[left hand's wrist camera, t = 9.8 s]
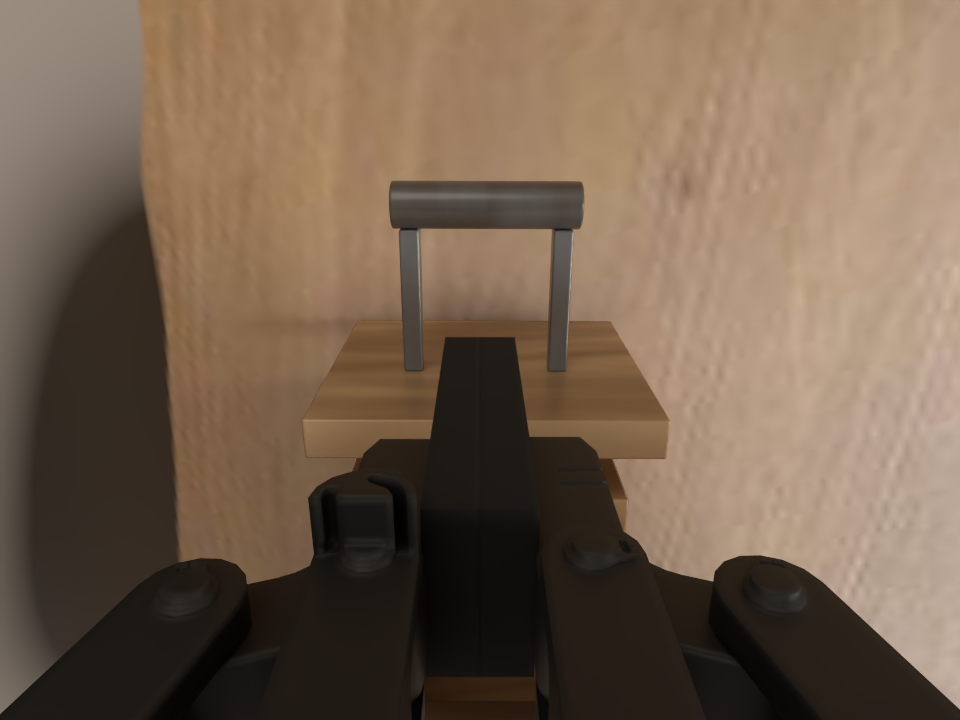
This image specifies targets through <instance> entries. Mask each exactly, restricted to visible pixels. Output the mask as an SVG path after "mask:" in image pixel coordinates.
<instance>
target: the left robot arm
mask: <svg viewBox="0 0 960 720" xmlns="http://www.w3.org/2000/svg"><path fill="white" fill-rule="evenodd" d="M308 501H309V510H310V520H311V529H312V538H313V548H314V556H313V559H312V562H311V564H310V566H309V567H307V568H304V569H302V570H300V571H298V572H296V573H293V574H289V575H286V576H283V577H279V578H275V579H270V580H266V581H261V582H257V583H252V584H247V581H246V575H245V573H244V572H243V571H242V570H241V569H240V568H239V567H238V566H237V565H236V564H234V563H231V562H228V561H225V560H222V559H204V558H200V559H195V560H190V561H185V562H180V563H177V564H174V565H172V566H170V567H167V568H165V569H163V570H160V571H158V572H156V573H155V574H153V575H152V576H150V577H149V578H148V579H146V580H145V581H143V582H142V583H141V584H139V585H138V586H137V587H136V588H135V589H134V590H133V591H131V592H130V593H129V594H128V595H127V596H126V597H125V598H124V599H123V600H122V601H121V602H120V603H119V604H118V605H117V606H115V607H114V608H113V609H112V610H111V611H110V612H109V613H108V614H107V615H106V616H105V617H104V618H103V619H102V620H100V621H99V622H98V623H97V624H96V625H95V626H94V627H93V628H92V629H91V630H90V631H89V632H88V633H87V634H86V635H84V636H83V637H82V638H81V639H80V640H79V641H78V642H77V643H76V644H75V645H74V646H73V647H72V648H71V649H70V650H69V651H67V652H66V653H65V654H64V655H63V656H62V657H61V658H60V659H59V660H58V661H57V662H56V663H55V664H53V665H52V666H51V667H50V668H49V669H48V670H47V671H46V672H45V673H44V674H43V675H42V676H41V677H40V678H39V679H37V680H36V681H35V682H34V683H33V684H32V685H31V686H30V687H29V688H28V689H27V690H26V691H25V692H24V693H22V694H21V695H20V696H19V697H18V698H17V699H16V700H15V701H14V702H13V703H12V704H11V705H10V706H9V707H8V708H6V709H5V710H4V711H3V712H2V713H1V714H0V720H424V718H425V694H424V677H425V666H426V677H534V663H535V673H536V694H535V719H534V720H960V709H959V708H957V707H956V706H955V705H954V704H953V703H952V702H951V701H950V700H949V699H948V698H947V697H946V696H945V695H943V694H942V693H941V692H940V691H939V690H938V689H937V688H936V687H935V686H934V685H933V684H932V683H931V682H929V681H928V680H927V679H926V678H925V677H924V676H923V675H922V674H921V673H920V672H919V671H918V670H917V669H915V668H914V667H913V666H912V665H911V664H910V663H909V662H908V661H907V660H906V659H905V658H904V657H903V656H901V655H900V654H899V653H898V652H897V651H896V650H895V649H894V648H893V647H892V646H891V645H890V644H889V643H887V642H886V641H885V640H884V639H883V638H882V637H881V636H880V635H879V634H878V633H877V632H876V631H875V630H873V629H872V628H871V627H870V626H869V625H868V624H867V623H866V622H865V621H864V620H863V619H862V618H861V617H859V616H858V615H857V614H856V613H855V612H854V611H853V610H852V609H851V608H850V607H849V606H848V605H847V604H845V603H844V602H843V601H842V600H841V599H840V598H839V597H838V596H837V595H836V594H835V593H834V592H833V591H831V590H830V589H829V588H828V587H827V586H826V585H825V584H824V583H823V582H822V581H820V580H819V579H817V578H816V577H815V576H813V575H812V574H810V573H809V572H807V571H806V570H805V569H803V568H800V567H798V566H796V565H793V564H791V563H788V562H786V561H784V560H780V559H775V558H770V557H765V556H739V557H736V558H733V559H730V560H727V561H724V562H723V563H722V564H721V566H720V567H719V568H718V569H717V570H716V571H715V575H714V581H713V582H712V581H707V580H703V579H698V578H693V577H689V576H684V575H680V574H677V573H673V572H670V571H667V570H664V569H662V568H660V567H657V566H655V565H653V564H651V563H649V561H648V558H647V555H646V553H645V551H644V550H643V548H642V547H641V546H640V544H639V543H638V541H637V540H635V539H634V538H632V537H631V536H629V535H628V534H626V533H625V532H624V531H623V529H622V526H621V523H620V520H619V517H618V514H617V511H616V508H615V505H614V502H613V499H612V496H611V493H610V490H609V487H608V485H607V481H606V478H605V475H604V472H603V471H602V466H601V463H600V460H599V457H598V454H597V451H596V450H595V449H593V448H592V447H591V446H590V445H589V444H588V443H586V442H585V441H584V440H583V439H582V438H581V437H529V430H528V423H527V417H526V410H525V403H524V396H523V390H522V383H521V376H520V369H519V363H518V356H517V349H516V342H515V337H445V342H444V349H443V356H442V363H441V369H440V376H439V383H438V390H437V396H436V403H435V410H434V417H433V423H432V430H431V437H430V439H380V440H378V441H377V442H376V443H375V444H374V445H373V446H371V447H370V448H369V449H368V450H367V451H366V452H365V453H364V454H363V457H362V460H361V463H360V466H359V469H358V471H355V472H349V473H346V474H342V475H339V476H336V477H333V478H331V479H329V480H327V481H326V482H324V483H322V484H321V485H319V486H317V487H316V489H315V490H314V491H313V492H312V494H311V495H310V496H309V497H308Z"/></svg>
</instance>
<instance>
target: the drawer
mask: <svg viewBox="0 0 960 720" xmlns="http://www.w3.org/2000/svg"><path fill="white" fill-rule="evenodd" d="M389 212H390V221H391V225H392V227H393V228H394V229H400V230H399V248H400V274H401V300H402V321H357V323H356V325H355V327H354V329H353V330H352V332H351V334H350V336H349V337H348V339H347V341H346V343H345V345H344V346H343V348H342V350H341V352H340V353H339V355H338V357H337V359H336V361H335V362H334V364H333V366H332V368H331V369H330V371H329V373H328V375H327V377H326V378H325V380H324V382H323V384H322V385H321V387H320V389H319V391H318V393H317V394H316V396H315V398H314V400H313V401H312V403H311V405H310V407H309V409H308V410H307V412H306V414H305V416H304V417H303V419H302V428H303V438H304V448H305V456H306V457H307V458H357V459H356V462H355V465H354V468H353V471H352V472H355V471H358V469H359V466H360V463H361V460H362V457H363V454H364V453H365V452H366V451H367V450H368V449H369V448H370V447H371V446H373V445H374V444H375V443H376V442H377V441H378V440H380V439H430V437H431V430H432V423H433V417H434V410H435V403H436V396H437V390H438V383H439V376H440V369H441V363H442V356H443V349H444V342H445V337H515V342H516V349H517V356H518V363H519V369H520V376H521V383H522V390H523V396H524V403H525V410H526V417H527V423H528V430H529V437H581V438H582V439H583V440H584V441H585V442H586V443H588V444H589V445H590V446H591V447H592V448H593V449H595V450H596V451H597V454H598V457H599V460H600V463H601V466H602V471H603V472H604V475H605V478H606V481H607V485H608V487H609V490H610V493H611V496H612V499H613V502H614V505H615V508H616V511H617V514H618V517H619V520H620V523H621V526H622V529H623V531H624V532H625V531H626V521H627V510H628V498H627V496H626V493H625V490H624V488H623V485H622V482H621V480H620V477H619V474H618V472H617V469H616V466H615V464H614V461H613V459H665V458H666V457H667V449H668V441H669V432H670V423H671V422H670V420H669V418H668V416H667V415H666V413H665V411H664V410H663V408H662V406H661V405H660V403H659V401H658V400H657V398H656V396H655V395H654V393H653V391H652V390H651V388H650V386H649V385H648V383H647V381H646V380H645V378H644V376H643V375H642V373H641V371H640V370H639V368H638V366H637V365H636V363H635V361H634V360H633V358H632V356H631V355H630V353H629V351H628V350H627V348H626V346H625V345H624V343H623V341H622V340H621V338H620V336H619V335H618V333H617V331H616V330H615V328H614V326H613V325H612V323H611V322H588V321H569V312H570V294H571V275H572V256H573V238H574V232H573V230H572V229H580V228H581V225H582V222H583V214H584V188H583V184H582V182H580V181H392V182H391V184H390V190H389ZM420 229H552V243H551V267H550V291H549V315H548V321H423V309H422V273H421V237H420ZM424 694H425V701H535V694H536V673H535V663H534V677H426V666H425V677H424Z"/></svg>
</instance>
